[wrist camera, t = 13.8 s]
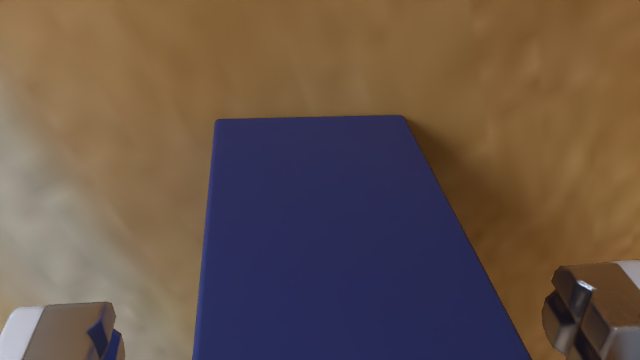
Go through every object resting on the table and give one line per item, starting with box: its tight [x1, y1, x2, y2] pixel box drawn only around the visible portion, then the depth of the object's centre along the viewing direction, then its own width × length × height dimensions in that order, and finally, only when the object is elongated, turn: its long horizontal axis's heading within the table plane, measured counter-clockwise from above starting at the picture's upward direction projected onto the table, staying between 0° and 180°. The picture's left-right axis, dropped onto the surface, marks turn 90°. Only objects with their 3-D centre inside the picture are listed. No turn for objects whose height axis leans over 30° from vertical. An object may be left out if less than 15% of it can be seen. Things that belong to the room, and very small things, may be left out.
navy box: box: [192, 115, 532, 360], centre depth 10 cm, size 5×4×7 cm
